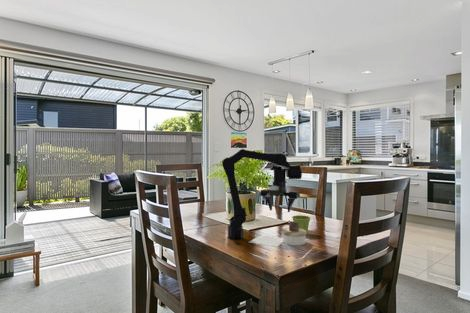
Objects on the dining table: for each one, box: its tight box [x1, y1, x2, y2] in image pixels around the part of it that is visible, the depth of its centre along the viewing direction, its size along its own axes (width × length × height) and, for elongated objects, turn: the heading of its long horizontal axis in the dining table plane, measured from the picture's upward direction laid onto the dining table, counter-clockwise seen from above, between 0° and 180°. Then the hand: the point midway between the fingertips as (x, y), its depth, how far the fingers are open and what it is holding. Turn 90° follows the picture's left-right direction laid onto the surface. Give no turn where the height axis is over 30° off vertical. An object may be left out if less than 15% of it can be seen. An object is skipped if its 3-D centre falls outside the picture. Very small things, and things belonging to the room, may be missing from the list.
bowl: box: [282, 234, 307, 246], centre depth 140 cm, size 10×10×4 cm
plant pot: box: [291, 214, 312, 235], centre depth 155 cm, size 9×9×9 cm
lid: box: [281, 220, 307, 237], centre depth 139 cm, size 11×11×5 cm
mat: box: [248, 234, 284, 248], centre depth 142 cm, size 14×14×1 cm
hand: (279, 211), depth 148 cm, fingers open, 9 cm apart
